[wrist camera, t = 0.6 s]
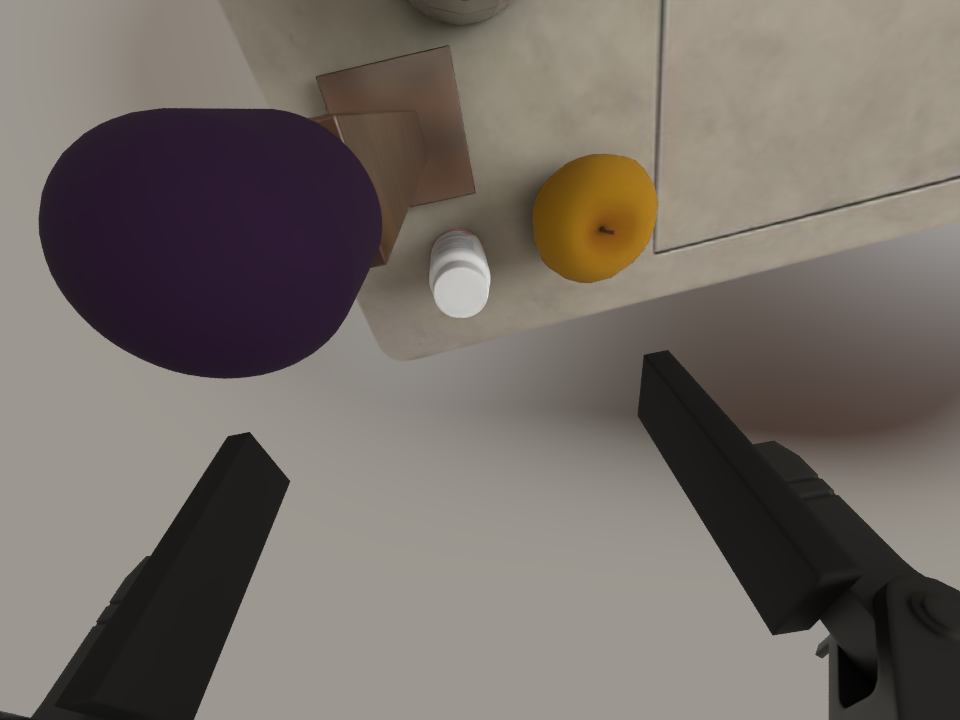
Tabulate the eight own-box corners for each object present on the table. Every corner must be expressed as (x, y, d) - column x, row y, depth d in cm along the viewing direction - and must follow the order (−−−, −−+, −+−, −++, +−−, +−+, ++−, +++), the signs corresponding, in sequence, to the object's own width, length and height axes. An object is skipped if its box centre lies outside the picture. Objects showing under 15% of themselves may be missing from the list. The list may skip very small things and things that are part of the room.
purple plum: (156, 132, 7) (-219, 161, 3) (343, 88, 7) (203, 59, 3) (259, 305, 9) (117, 453, 5) (404, 274, 9) (371, 404, 5)
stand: (321, 78, 25) (-148, -43, 5) (449, 48, 25) (457, -202, 5) (368, 212, 30) (219, 406, 10) (474, 189, 30) (528, 346, 10)
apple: (595, 268, 34) (635, 312, 27) (506, 245, 32) (524, 284, 25) (644, 165, 30) (709, 184, 22) (543, 130, 28) (578, 138, 20)
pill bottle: (420, 257, 33) (413, 297, 26) (454, 215, 31) (456, 246, 24) (460, 289, 35) (464, 334, 28) (495, 252, 33) (507, 290, 26)
